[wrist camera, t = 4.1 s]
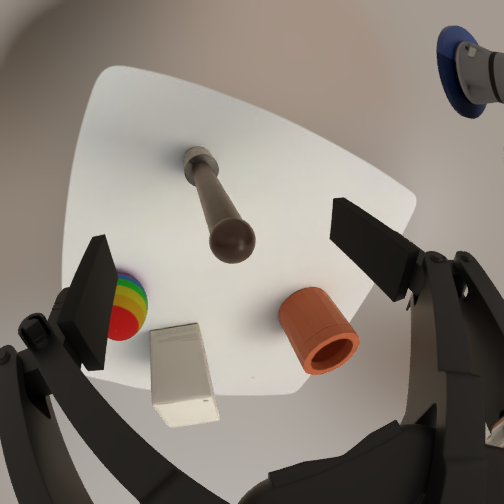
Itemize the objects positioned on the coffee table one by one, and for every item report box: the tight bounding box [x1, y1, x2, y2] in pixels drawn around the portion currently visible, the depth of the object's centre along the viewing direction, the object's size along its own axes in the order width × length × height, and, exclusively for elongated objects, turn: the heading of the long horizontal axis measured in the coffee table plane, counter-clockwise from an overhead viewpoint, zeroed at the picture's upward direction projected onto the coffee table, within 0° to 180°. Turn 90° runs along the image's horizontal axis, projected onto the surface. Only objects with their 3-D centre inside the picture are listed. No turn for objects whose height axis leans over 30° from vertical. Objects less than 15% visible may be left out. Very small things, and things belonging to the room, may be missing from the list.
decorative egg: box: [108, 274, 148, 341], centre depth 34 cm, size 8×8×10 cm
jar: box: [279, 287, 360, 375], centre depth 46 cm, size 10×10×12 cm
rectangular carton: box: [150, 324, 220, 427], centre depth 41 cm, size 9×9×15 cm
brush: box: [183, 147, 256, 264], centre depth 23 cm, size 4×4×23 cm
